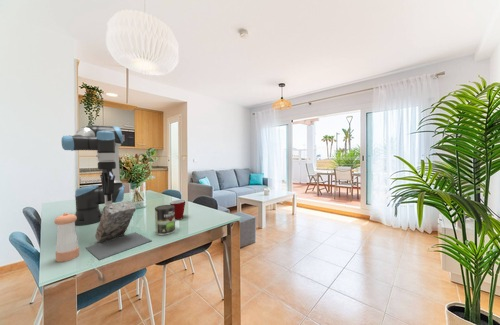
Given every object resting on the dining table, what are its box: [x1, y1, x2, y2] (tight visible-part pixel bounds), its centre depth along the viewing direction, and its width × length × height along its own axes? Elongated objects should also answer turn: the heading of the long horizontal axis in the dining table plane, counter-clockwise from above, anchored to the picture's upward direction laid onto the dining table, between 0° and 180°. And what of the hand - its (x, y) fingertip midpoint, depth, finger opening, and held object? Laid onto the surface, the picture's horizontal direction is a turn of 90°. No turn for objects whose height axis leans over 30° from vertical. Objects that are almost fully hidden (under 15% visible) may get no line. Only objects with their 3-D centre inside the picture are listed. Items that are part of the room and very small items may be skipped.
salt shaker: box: [54, 212, 80, 263], centre depth 84 cm, size 7×7×19 cm
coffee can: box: [154, 204, 176, 236], centre depth 112 cm, size 10×10×14 cm
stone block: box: [94, 201, 137, 244], centre depth 101 cm, size 13×7×20 cm
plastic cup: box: [168, 199, 187, 220], centre depth 135 cm, size 11×11×12 cm
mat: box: [85, 232, 152, 261], centre depth 96 cm, size 18×22×1 cm
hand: (108, 206), depth 103 cm, fingers closed
